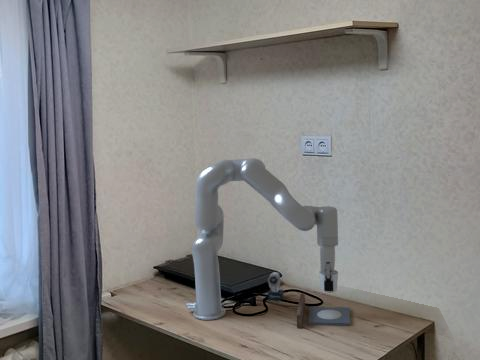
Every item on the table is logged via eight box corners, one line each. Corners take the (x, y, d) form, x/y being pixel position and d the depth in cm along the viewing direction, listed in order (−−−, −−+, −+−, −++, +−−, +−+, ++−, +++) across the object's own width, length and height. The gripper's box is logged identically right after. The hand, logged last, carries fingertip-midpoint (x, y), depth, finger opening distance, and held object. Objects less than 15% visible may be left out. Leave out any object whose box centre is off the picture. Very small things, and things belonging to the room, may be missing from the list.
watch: (267, 301, 219) (266, 275, 218) (271, 294, 227) (270, 269, 225) (280, 302, 218) (279, 276, 216) (284, 295, 225) (283, 270, 224)
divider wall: (296, 328, 192) (296, 315, 191) (300, 305, 214) (300, 293, 213) (301, 328, 192) (301, 315, 191) (305, 305, 213) (304, 293, 213)
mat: (308, 324, 195) (308, 321, 195) (310, 309, 210) (310, 306, 209) (350, 325, 192) (350, 323, 192) (349, 310, 207) (349, 307, 207)
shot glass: (325, 285, 204) (324, 268, 203) (341, 288, 200) (341, 270, 199) (316, 291, 199) (315, 273, 198) (333, 294, 195) (333, 275, 194)
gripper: (318, 234, 206) (319, 280, 208) (316, 246, 189) (317, 295, 192) (338, 234, 205) (339, 280, 207) (338, 246, 188) (339, 296, 190)
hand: (328, 287), depth 199 cm, fingers closed on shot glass, 6 cm apart
